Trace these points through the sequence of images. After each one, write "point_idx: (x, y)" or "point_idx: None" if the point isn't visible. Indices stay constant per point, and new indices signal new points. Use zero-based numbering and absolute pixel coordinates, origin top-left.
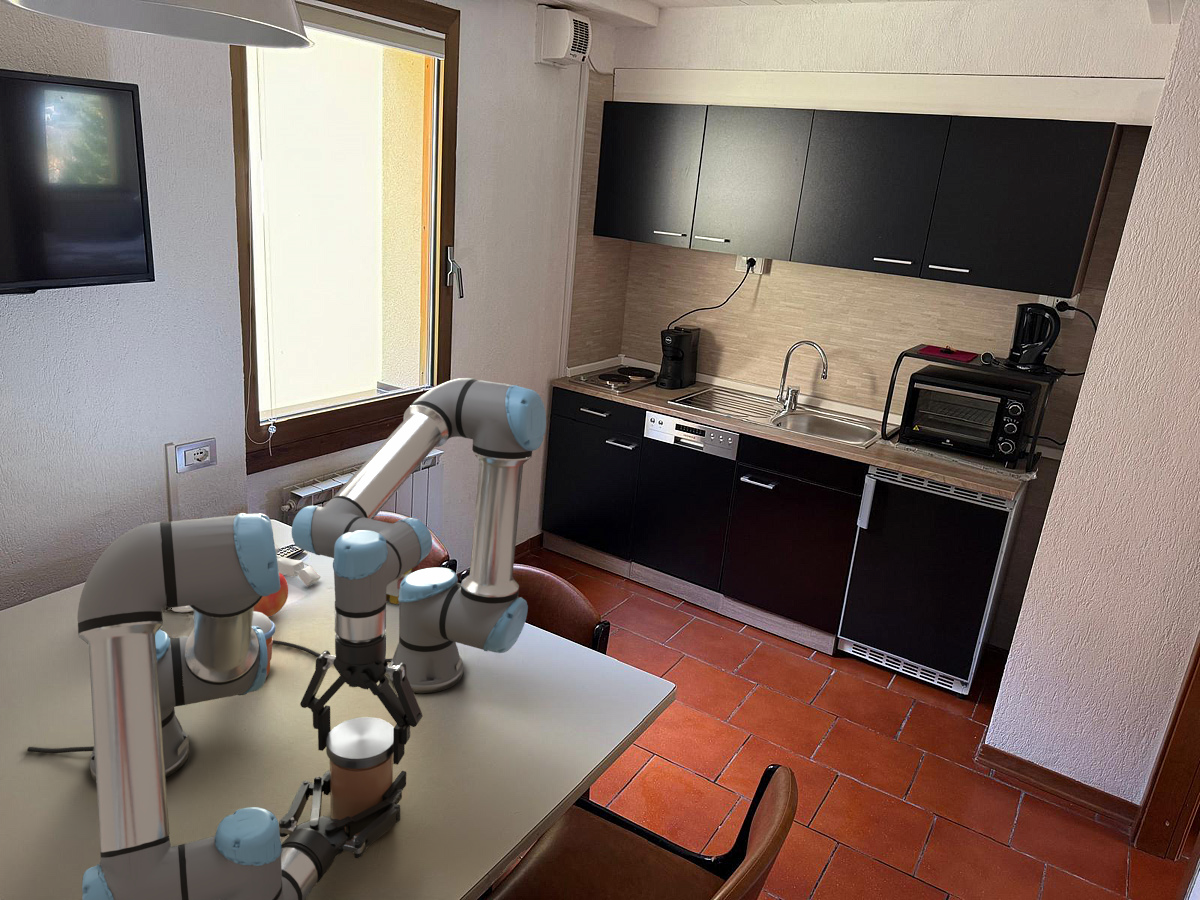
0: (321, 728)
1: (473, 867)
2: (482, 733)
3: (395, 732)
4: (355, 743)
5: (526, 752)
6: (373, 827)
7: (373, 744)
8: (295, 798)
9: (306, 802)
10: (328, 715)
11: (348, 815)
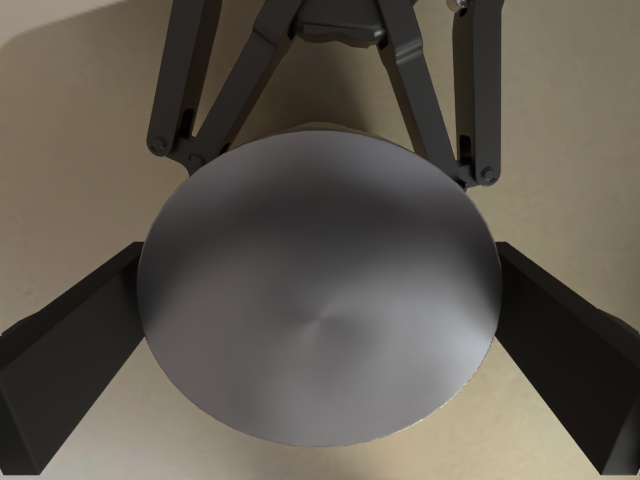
0: (566, 303)
1: (16, 119)
2: (202, 456)
3: (8, 348)
4: (326, 265)
5: (101, 432)
6: (177, 22)
7: (231, 283)
8: (496, 94)
9: (456, 138)
10: (565, 401)
11: (319, 125)
